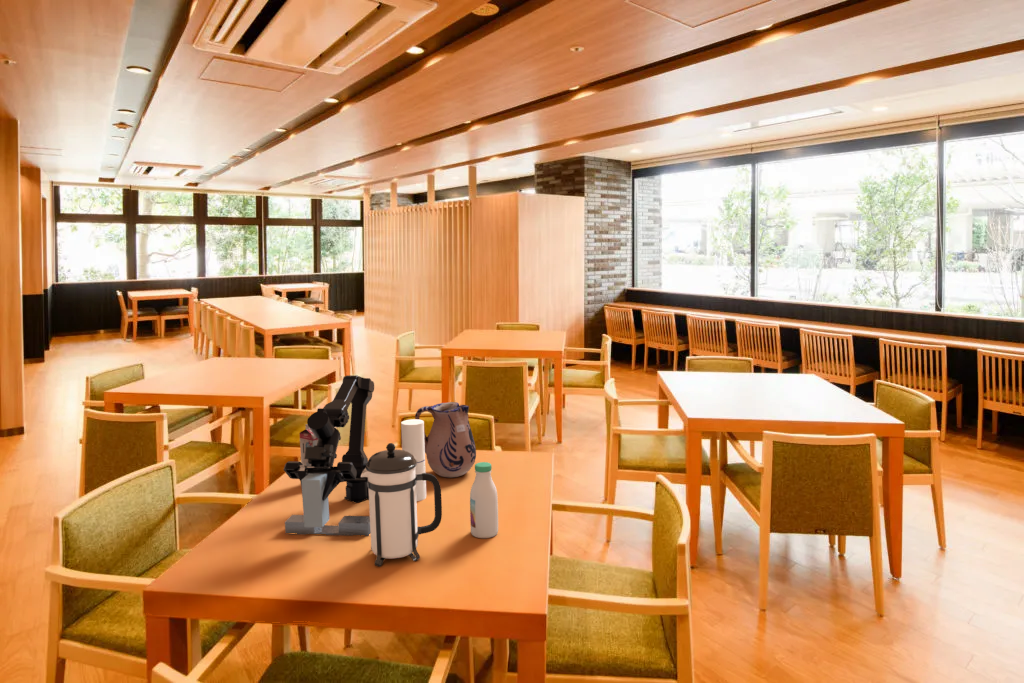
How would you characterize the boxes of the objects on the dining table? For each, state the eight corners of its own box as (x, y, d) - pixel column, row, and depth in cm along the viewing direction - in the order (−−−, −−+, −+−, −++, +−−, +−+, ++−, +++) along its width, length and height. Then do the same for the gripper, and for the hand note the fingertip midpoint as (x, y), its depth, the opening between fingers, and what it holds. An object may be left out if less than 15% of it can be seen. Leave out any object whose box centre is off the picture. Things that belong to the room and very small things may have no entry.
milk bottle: (502, 529, 181) (501, 461, 178) (492, 540, 173) (491, 469, 171) (477, 525, 183) (475, 458, 180) (466, 537, 176) (464, 467, 173)
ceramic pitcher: (479, 480, 221) (477, 410, 217) (417, 484, 217) (415, 413, 214) (473, 464, 238) (472, 399, 235) (416, 468, 234) (414, 401, 231)
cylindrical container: (399, 499, 204) (396, 423, 201) (411, 492, 210) (408, 418, 207) (419, 502, 201) (416, 425, 198) (430, 494, 208) (427, 420, 205)
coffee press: (400, 575, 155) (395, 456, 151) (353, 559, 163) (347, 446, 160) (444, 547, 170) (441, 438, 166) (399, 534, 178) (395, 430, 174)
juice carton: (331, 483, 220) (327, 421, 217) (315, 489, 214) (312, 425, 212) (318, 479, 224) (314, 418, 221) (302, 485, 218) (298, 423, 215)
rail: (293, 526, 184) (292, 514, 184) (373, 528, 182) (373, 516, 182) (285, 534, 179) (284, 521, 179) (368, 535, 178) (368, 523, 177)
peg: (311, 519, 174) (308, 473, 172) (329, 519, 174) (326, 473, 172) (304, 526, 169) (301, 480, 167) (322, 527, 169) (319, 480, 167)
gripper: (284, 433, 173) (268, 486, 163) (351, 433, 171) (339, 487, 162) (298, 452, 182) (283, 504, 172) (361, 452, 180) (350, 505, 171)
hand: (313, 499), depth 169 cm, fingers closed on peg, 5 cm apart
